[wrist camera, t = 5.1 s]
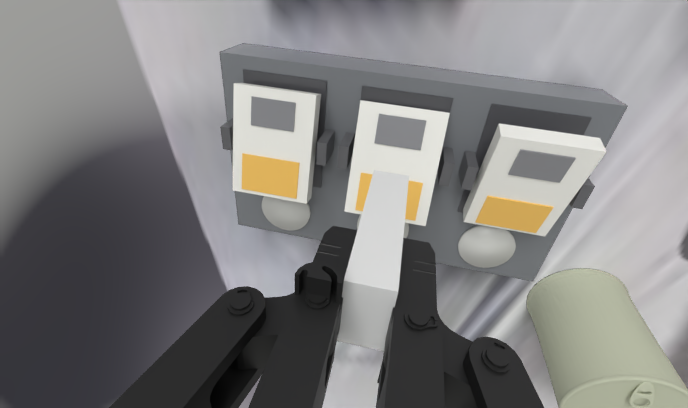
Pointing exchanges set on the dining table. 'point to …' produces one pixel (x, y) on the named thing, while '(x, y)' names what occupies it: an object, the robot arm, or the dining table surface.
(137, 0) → the dining table surface
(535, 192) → the rocker
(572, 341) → the can
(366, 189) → the rocker middle
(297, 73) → the rocker switch panel
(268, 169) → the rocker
